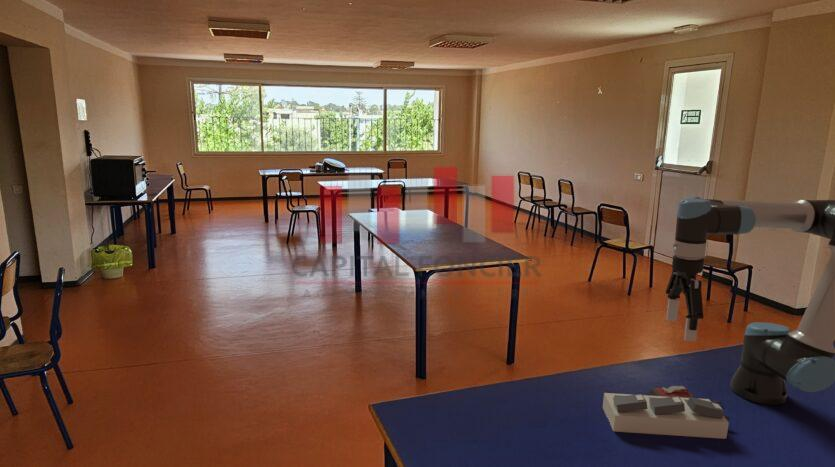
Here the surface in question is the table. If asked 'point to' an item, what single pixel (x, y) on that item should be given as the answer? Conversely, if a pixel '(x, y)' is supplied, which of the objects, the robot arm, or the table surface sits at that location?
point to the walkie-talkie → (673, 392)
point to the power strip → (664, 420)
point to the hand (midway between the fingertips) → (680, 330)
